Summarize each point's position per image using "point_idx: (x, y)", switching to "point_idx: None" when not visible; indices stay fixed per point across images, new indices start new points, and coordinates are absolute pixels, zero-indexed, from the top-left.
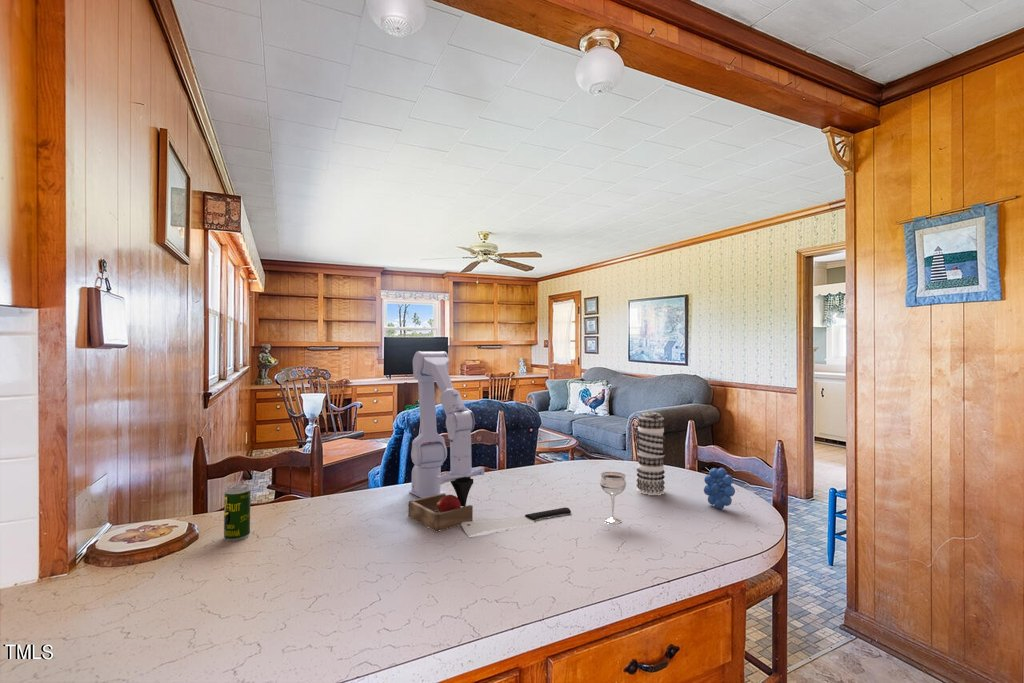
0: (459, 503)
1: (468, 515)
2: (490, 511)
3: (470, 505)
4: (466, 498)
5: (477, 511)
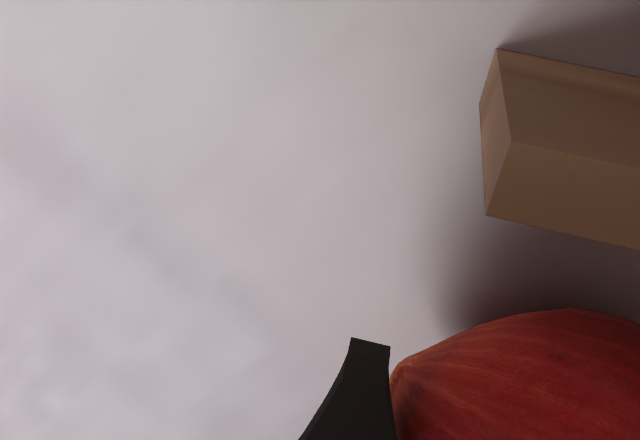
0: (509, 408)
1: (595, 99)
2: (54, 106)
3: (509, 196)
4: (333, 417)
5: (178, 228)
